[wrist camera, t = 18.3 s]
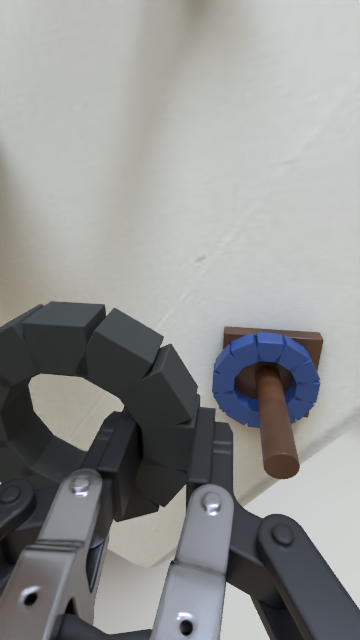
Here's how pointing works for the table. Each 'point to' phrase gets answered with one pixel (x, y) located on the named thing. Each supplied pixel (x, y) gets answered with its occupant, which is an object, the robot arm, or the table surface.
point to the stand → (274, 399)
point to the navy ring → (265, 350)
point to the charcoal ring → (109, 374)
